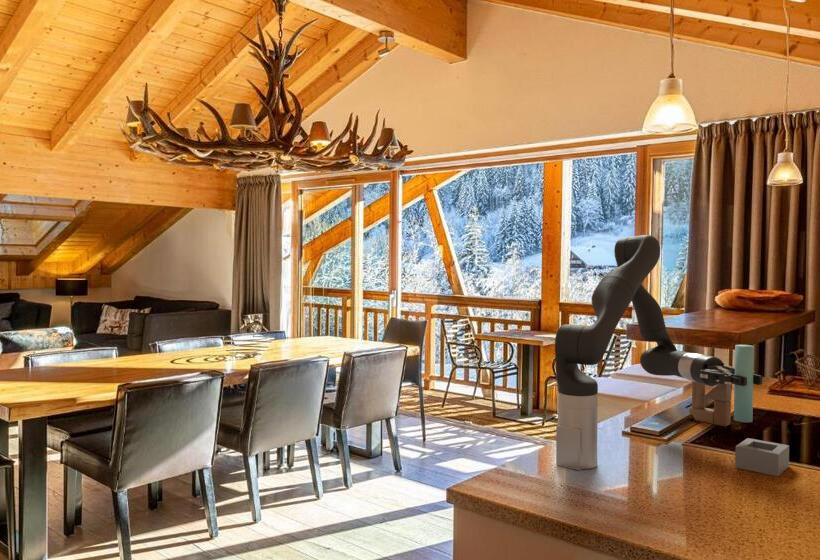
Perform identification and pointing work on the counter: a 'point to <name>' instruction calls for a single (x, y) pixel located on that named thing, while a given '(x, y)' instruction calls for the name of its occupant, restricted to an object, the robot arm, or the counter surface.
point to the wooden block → (721, 404)
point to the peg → (744, 393)
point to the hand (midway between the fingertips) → (753, 381)
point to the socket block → (762, 456)
